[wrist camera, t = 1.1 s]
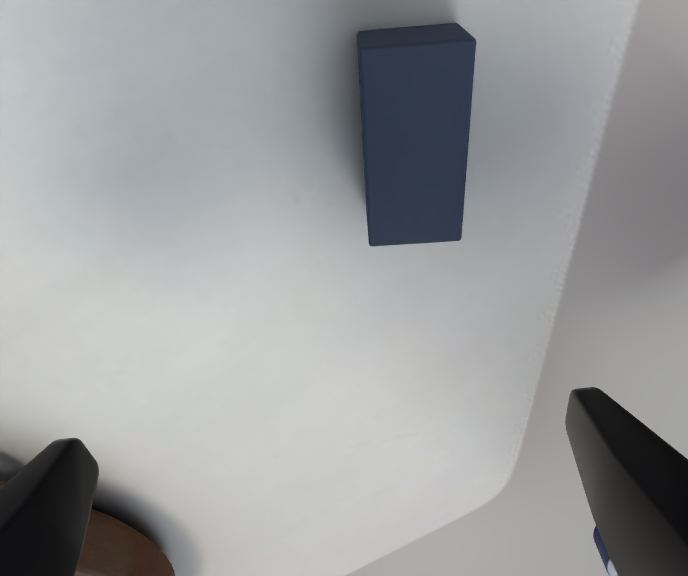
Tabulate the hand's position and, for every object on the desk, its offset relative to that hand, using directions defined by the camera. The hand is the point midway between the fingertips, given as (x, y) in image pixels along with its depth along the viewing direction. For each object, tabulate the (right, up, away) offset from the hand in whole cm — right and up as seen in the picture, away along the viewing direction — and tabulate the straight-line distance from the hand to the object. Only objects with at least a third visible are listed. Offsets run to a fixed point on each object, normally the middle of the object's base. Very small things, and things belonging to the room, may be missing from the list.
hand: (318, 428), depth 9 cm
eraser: (+3, +8, +7) cm, 11 cm away
